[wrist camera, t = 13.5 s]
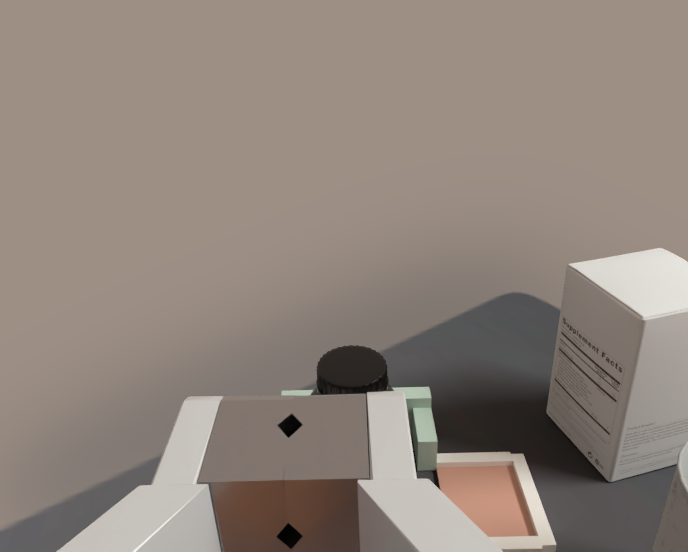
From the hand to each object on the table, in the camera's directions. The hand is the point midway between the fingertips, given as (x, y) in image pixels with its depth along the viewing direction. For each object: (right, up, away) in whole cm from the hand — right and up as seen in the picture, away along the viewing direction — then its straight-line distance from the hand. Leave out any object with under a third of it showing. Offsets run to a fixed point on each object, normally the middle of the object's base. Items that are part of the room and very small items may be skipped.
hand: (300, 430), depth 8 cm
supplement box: (+24, -11, +42) cm, 50 cm away
